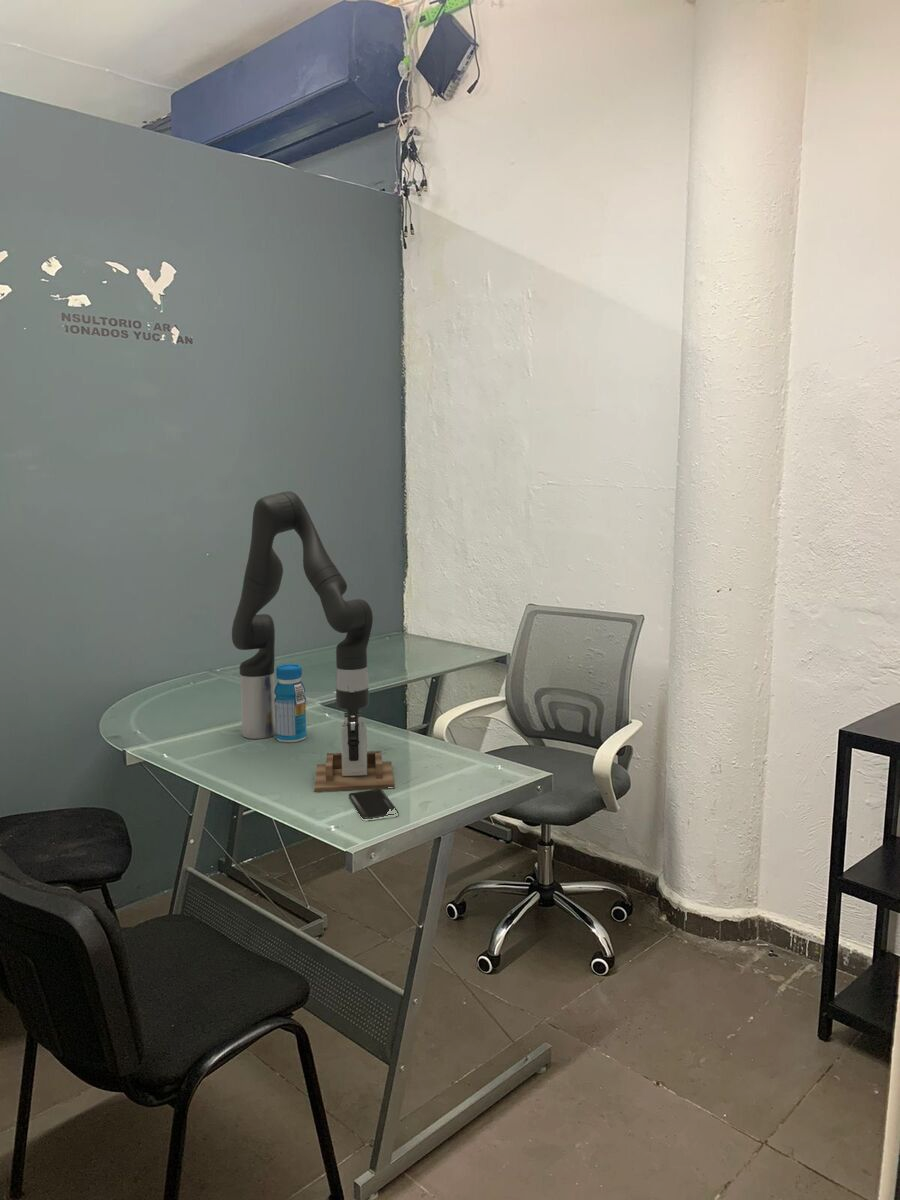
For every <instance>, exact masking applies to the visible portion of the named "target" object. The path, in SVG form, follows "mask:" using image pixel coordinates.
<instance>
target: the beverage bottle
mask: <svg viewBox="0 0 900 1200" xmlns="http://www.w3.org/2000/svg"><path fill="white" fill-rule="evenodd" d="M275 673H276V674H275V675H276V680H278V682H277V683H276V684H275V690H274V693H275V699H274V705H275V720H276V734H275V738H276V740H277V741H278V742H281V743H296V742H297V743H298V742H301V741H303V740H305V739H306V738H307V714H306V712H307V710H306V709H307V707H306V703H307V698H306V696H305V692H306V688H305V685H304V684H303V682H302V681H301V679H302V677H303V668H302V665H300V664H298V663H297V664H296V663H286V664H285V663H284V664H280V665H278V666H276V669H275Z"/></svg>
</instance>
